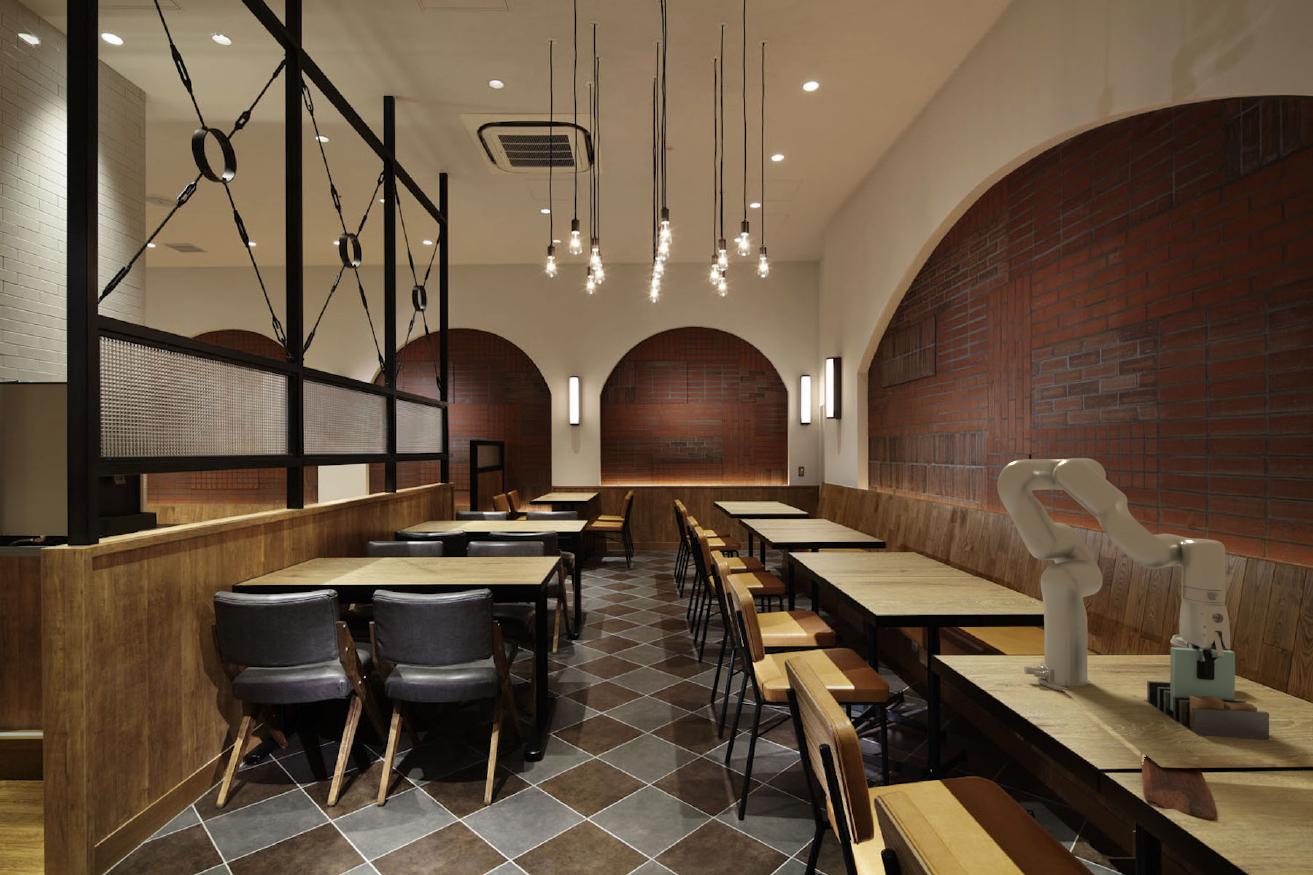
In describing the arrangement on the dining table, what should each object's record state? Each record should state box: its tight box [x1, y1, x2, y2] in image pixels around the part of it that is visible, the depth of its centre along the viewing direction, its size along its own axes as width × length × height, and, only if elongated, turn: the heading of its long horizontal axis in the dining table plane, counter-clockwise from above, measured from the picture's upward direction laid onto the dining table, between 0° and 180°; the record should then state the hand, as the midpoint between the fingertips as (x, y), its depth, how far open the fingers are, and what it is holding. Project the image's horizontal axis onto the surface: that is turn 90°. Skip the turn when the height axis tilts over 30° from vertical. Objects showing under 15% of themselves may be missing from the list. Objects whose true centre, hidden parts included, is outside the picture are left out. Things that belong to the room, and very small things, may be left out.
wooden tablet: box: [1141, 754, 1217, 821], centre depth 122 cm, size 26×2×10 cm
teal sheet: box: [1169, 646, 1236, 711], centre depth 147 cm, size 12×2×14 cm, turn 82°
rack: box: [1143, 680, 1275, 741], centre depth 147 cm, size 14×20×6 cm
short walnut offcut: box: [1223, 702, 1258, 711], centre depth 141 cm, size 5×2×6 cm, turn 82°
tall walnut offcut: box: [1190, 696, 1223, 727], centre depth 142 cm, size 5×2×6 cm, turn 82°
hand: (1202, 676), depth 147 cm, fingers closed on teal sheet, 1 cm apart
